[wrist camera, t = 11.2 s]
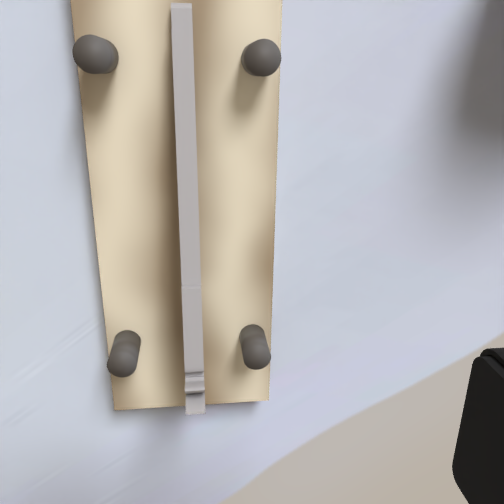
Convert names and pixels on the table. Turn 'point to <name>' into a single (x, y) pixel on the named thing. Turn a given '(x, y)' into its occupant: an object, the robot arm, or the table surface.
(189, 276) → the caliper
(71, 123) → the table surface
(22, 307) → the table surface
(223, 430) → the table surface
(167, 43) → the tool rest
